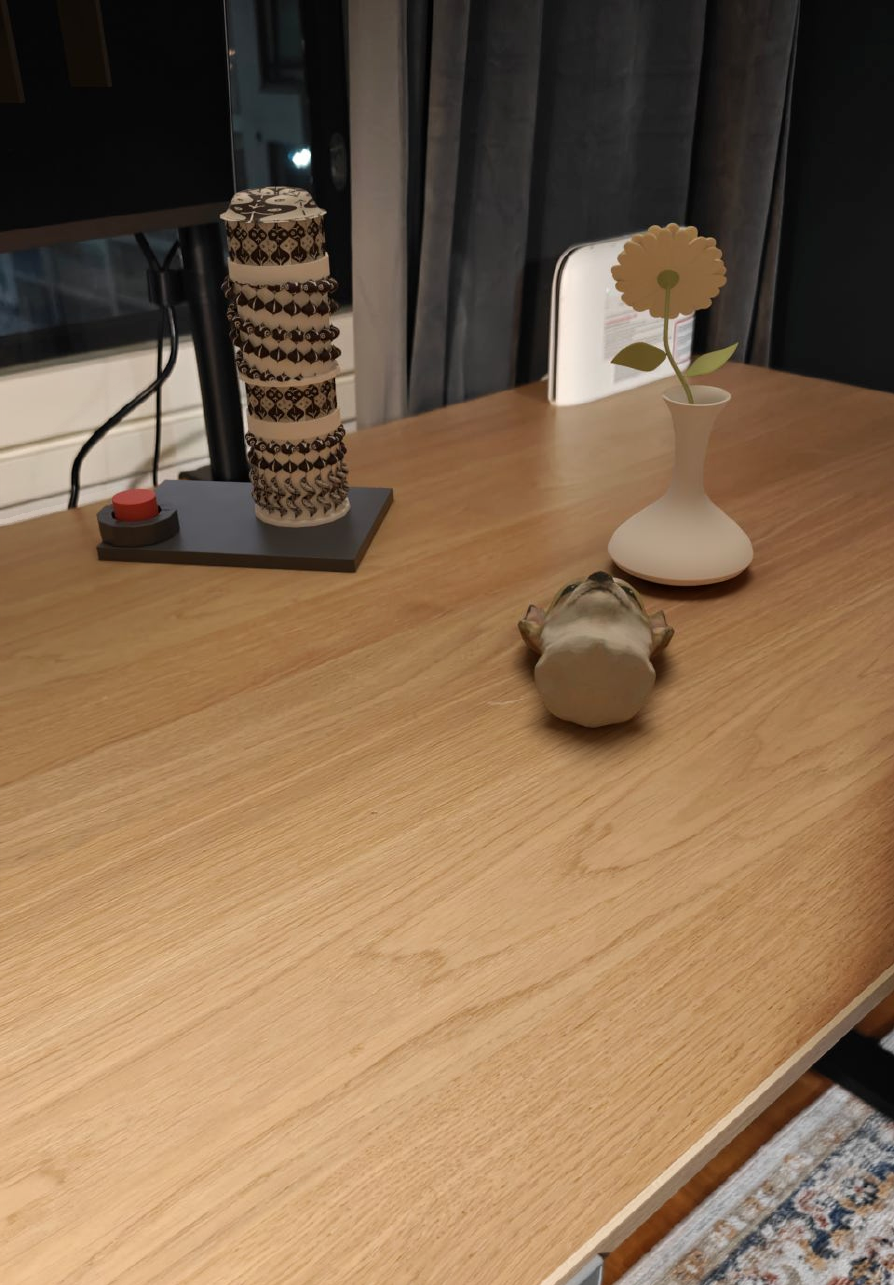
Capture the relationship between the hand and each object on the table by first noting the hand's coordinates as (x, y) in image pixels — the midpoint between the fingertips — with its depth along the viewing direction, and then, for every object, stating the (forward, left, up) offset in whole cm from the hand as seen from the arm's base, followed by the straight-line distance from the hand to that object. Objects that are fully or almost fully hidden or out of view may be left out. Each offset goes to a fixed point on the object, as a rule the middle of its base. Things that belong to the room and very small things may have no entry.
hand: (49, 95), depth 73 cm
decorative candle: (+10, +12, -32) cm, 36 cm away
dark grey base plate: (+6, +10, -33) cm, 35 cm away
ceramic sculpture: (+37, -14, -34) cm, 52 cm away
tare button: (-2, +6, -31) cm, 31 cm away
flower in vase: (+42, +6, -34) cm, 54 cm away
